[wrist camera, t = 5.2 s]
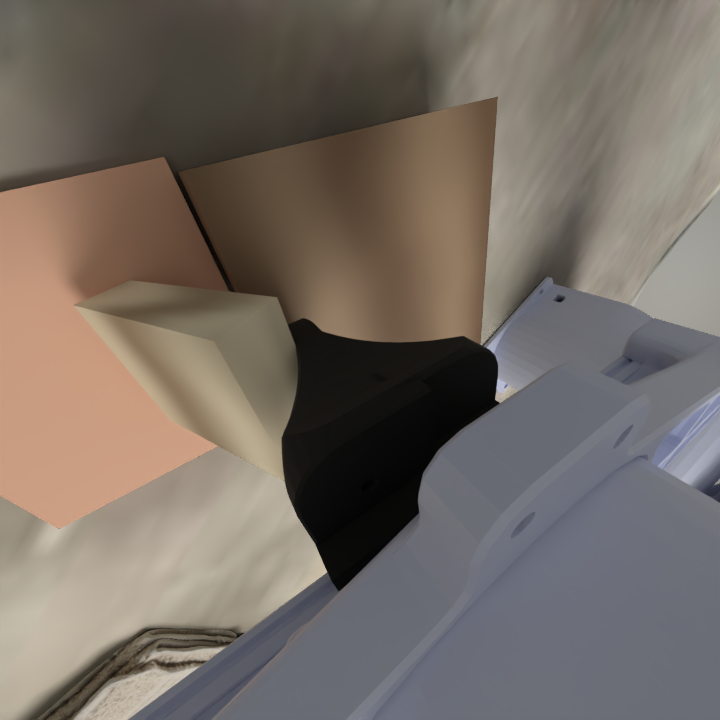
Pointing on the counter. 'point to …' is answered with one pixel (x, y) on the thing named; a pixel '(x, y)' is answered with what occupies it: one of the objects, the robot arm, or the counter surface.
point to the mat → (87, 336)
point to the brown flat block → (362, 225)
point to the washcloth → (139, 674)
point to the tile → (206, 361)
